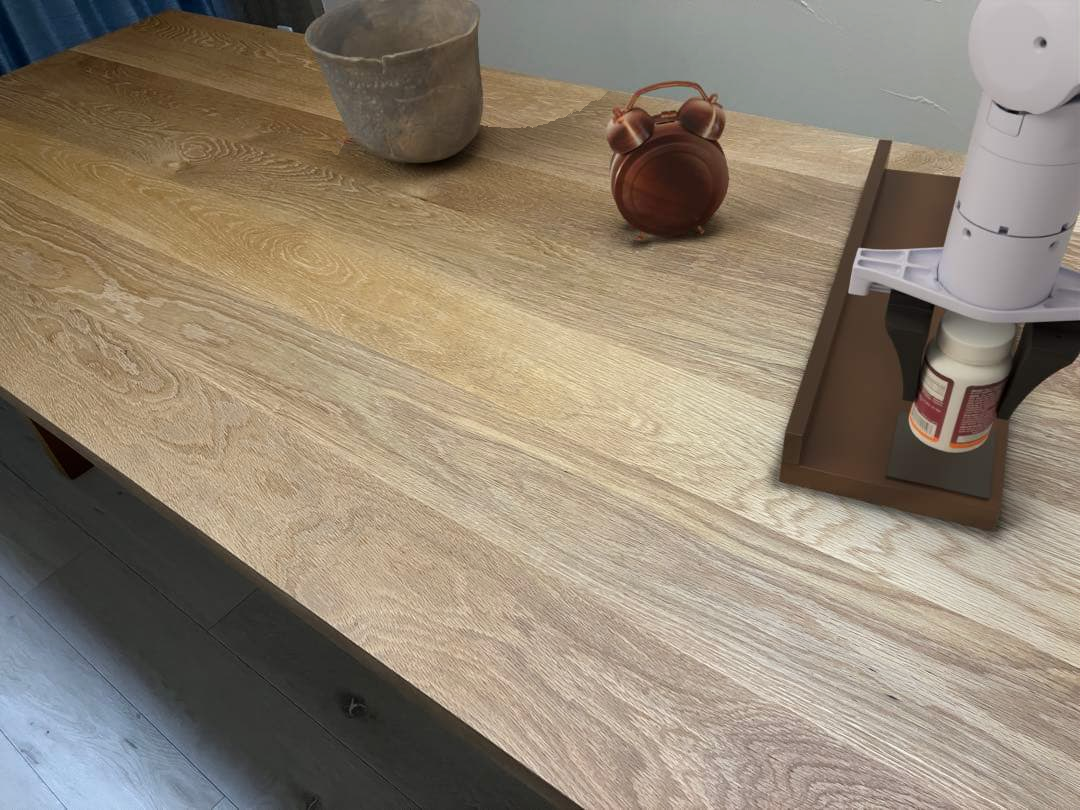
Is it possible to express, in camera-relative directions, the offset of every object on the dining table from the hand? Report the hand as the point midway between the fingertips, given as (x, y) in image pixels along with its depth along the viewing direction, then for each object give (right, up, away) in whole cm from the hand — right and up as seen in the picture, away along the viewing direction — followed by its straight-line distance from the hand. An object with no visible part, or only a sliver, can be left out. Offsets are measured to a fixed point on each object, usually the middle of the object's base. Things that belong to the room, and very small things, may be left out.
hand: (956, 399), depth 56 cm
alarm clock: (-13, +16, +33) cm, 39 cm away
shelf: (+6, +6, +19) cm, 21 cm away
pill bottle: (0, -2, +2) cm, 3 cm away
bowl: (-39, +28, +49) cm, 69 cm away
